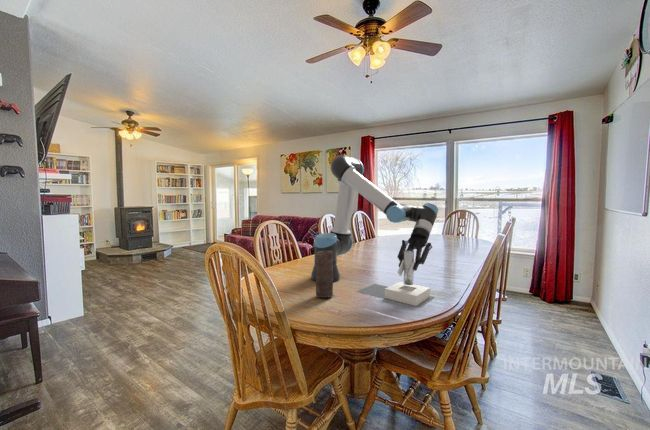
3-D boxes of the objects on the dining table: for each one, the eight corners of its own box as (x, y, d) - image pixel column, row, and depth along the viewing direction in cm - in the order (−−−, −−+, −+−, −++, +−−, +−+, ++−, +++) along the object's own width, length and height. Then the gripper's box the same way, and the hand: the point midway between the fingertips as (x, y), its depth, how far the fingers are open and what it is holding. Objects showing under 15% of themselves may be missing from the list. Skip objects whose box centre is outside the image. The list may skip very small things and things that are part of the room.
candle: (331, 300, 126) (331, 253, 125) (313, 299, 128) (314, 252, 126) (334, 294, 134) (334, 250, 132) (317, 293, 135) (318, 249, 134)
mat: (356, 292, 137) (356, 291, 137) (374, 284, 149) (374, 283, 149) (420, 309, 117) (420, 307, 117) (435, 298, 129) (435, 297, 129)
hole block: (384, 297, 128) (384, 288, 128) (399, 290, 139) (400, 281, 139) (416, 305, 119) (416, 296, 119) (429, 296, 130) (430, 287, 130)
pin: (401, 284, 128) (402, 251, 128) (406, 281, 131) (406, 250, 131) (410, 285, 126) (411, 252, 125) (414, 283, 129) (415, 251, 128)
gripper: (442, 238, 134) (426, 283, 122) (406, 235, 145) (389, 276, 133) (438, 227, 129) (421, 273, 118) (401, 225, 140) (383, 266, 129)
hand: (404, 275), depth 125 cm, fingers closed on pin, 4 cm apart
